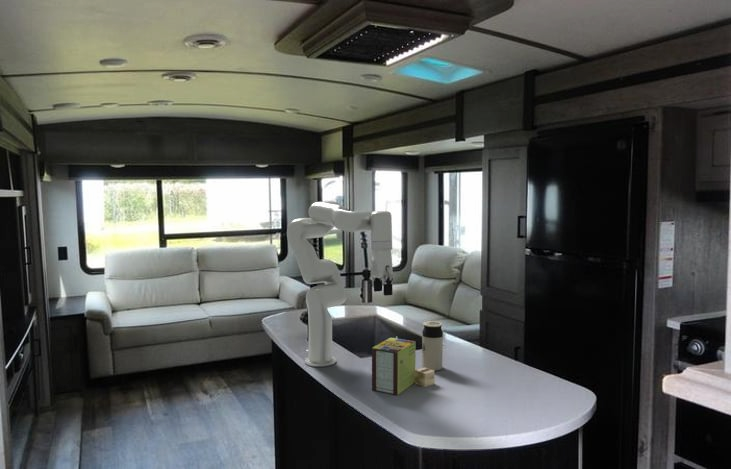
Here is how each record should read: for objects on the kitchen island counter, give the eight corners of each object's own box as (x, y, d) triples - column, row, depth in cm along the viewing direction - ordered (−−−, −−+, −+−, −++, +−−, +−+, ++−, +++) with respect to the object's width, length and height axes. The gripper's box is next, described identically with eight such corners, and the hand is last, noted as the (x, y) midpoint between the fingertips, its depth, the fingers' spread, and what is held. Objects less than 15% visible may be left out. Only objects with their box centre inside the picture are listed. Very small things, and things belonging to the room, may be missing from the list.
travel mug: (441, 365, 221) (442, 321, 220) (442, 371, 213) (443, 326, 212) (421, 364, 222) (422, 320, 221) (422, 370, 214) (422, 325, 213)
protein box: (415, 382, 202) (416, 340, 201) (397, 395, 189) (398, 351, 187) (390, 377, 207) (390, 336, 206) (370, 390, 194) (371, 347, 192)
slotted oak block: (414, 383, 201) (415, 369, 200) (424, 380, 204) (424, 366, 204) (424, 387, 197) (425, 373, 197) (434, 384, 200) (434, 370, 200)
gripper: (363, 244, 203) (365, 290, 204) (380, 248, 187) (382, 297, 188) (382, 243, 206) (383, 289, 207) (401, 246, 190) (402, 296, 191)
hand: (382, 293), depth 197 cm, fingers open, 9 cm apart
